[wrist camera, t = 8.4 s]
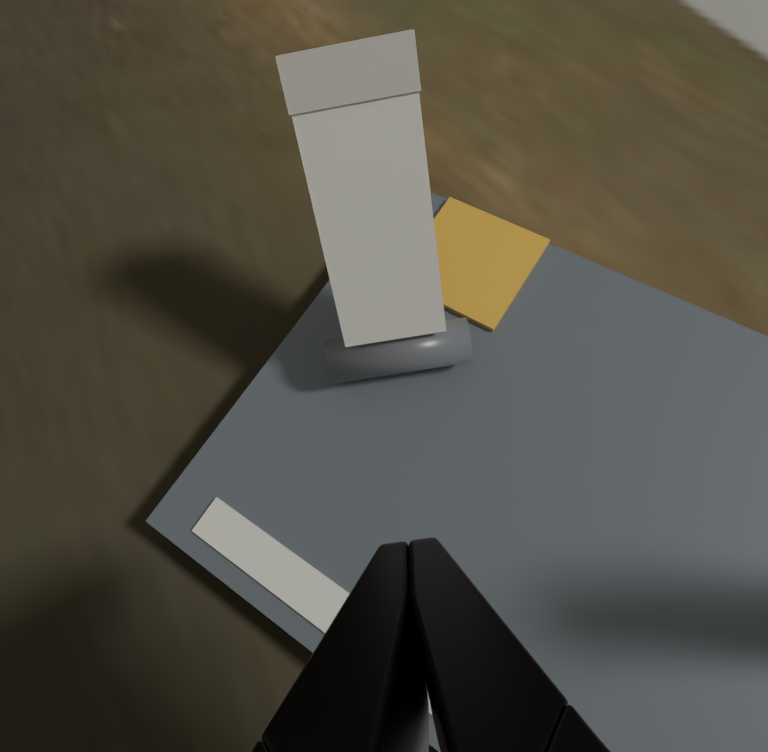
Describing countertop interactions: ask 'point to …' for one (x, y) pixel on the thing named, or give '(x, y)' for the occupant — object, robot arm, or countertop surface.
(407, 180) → the lever
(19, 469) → the countertop surface
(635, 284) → the switch panel
